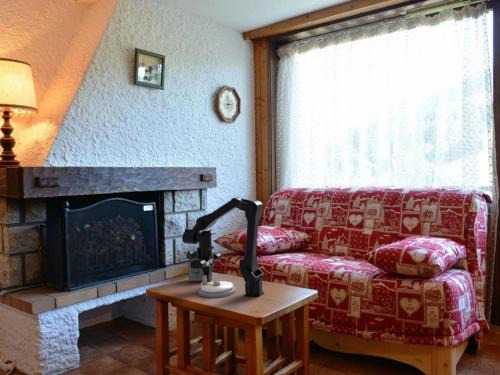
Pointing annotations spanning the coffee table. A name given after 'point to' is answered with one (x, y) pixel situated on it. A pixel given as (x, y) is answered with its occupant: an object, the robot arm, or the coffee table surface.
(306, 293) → the coffee table surface
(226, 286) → the dial
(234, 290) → the base plate
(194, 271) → the small box
